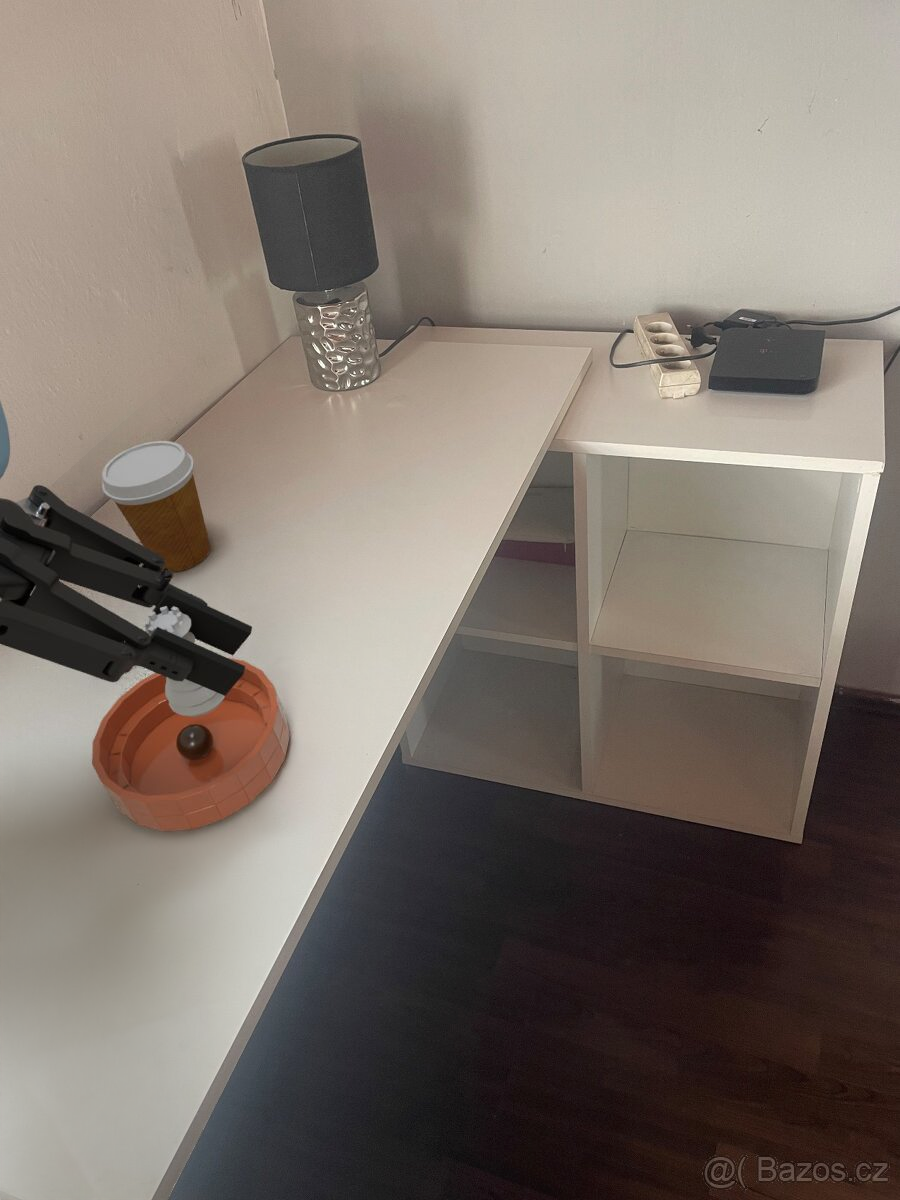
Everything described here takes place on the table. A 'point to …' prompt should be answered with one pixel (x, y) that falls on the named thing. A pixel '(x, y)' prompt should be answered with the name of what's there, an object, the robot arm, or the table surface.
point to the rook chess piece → (184, 694)
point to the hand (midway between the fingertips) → (238, 660)
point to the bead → (194, 742)
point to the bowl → (175, 784)
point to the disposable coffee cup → (160, 501)
